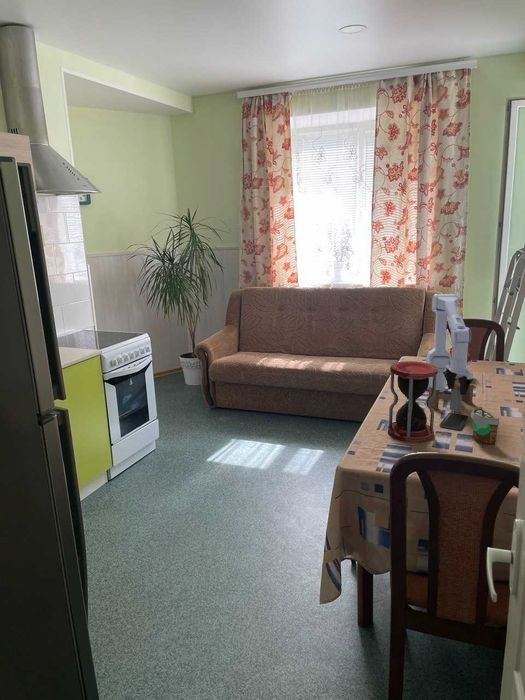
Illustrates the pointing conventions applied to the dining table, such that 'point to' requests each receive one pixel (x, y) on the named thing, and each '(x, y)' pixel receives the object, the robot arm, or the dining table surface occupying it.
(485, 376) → the dining table surface
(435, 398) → the domino
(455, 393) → the domino
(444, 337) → the robot arm
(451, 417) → the phone
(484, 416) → the food container
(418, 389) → the hourglass
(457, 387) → the domino
